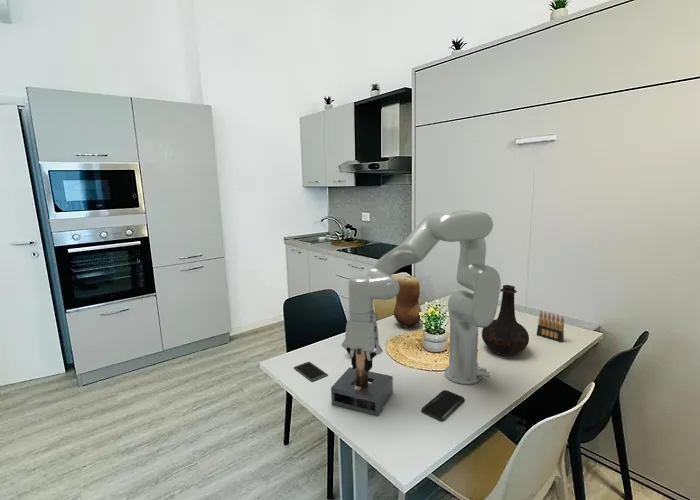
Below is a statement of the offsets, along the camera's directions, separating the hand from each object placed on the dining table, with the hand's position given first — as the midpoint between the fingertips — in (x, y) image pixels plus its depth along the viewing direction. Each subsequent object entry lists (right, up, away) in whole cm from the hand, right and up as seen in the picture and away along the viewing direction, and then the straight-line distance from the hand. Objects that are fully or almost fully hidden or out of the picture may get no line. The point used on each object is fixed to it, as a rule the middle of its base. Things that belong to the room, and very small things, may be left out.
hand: (361, 368), depth 118 cm
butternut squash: (+25, +1, +62) cm, 67 cm away
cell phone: (-19, -9, +20) cm, 29 cm away
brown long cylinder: (0, -6, +1) cm, 6 cm away
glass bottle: (+60, -4, +33) cm, 69 cm away
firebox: (0, -11, +2) cm, 11 cm away
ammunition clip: (+85, -1, +44) cm, 96 cm away
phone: (+26, -12, -3) cm, 28 cm away
